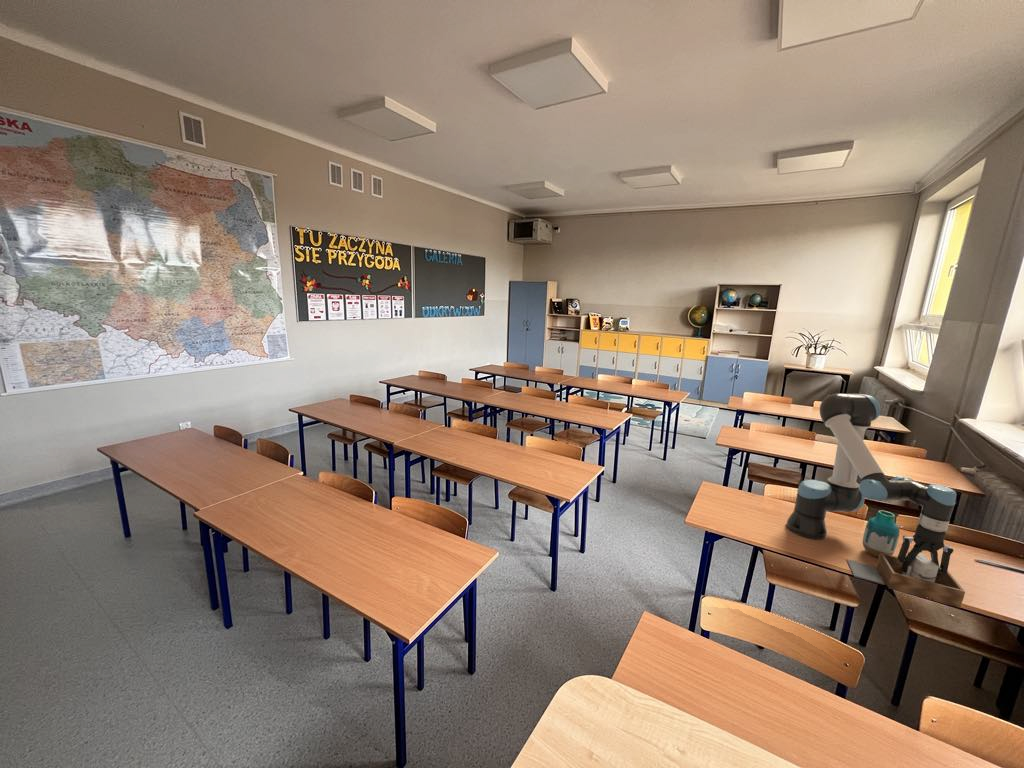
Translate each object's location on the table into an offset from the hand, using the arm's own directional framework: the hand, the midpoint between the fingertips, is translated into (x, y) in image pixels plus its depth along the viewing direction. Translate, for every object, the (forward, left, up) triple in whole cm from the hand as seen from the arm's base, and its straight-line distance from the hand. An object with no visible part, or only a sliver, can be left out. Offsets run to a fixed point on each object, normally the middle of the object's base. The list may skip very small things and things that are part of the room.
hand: (916, 582), depth 157 cm
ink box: (0, 0, -2) cm, 2 cm away
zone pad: (-15, +1, -1) cm, 15 cm away
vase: (-7, +19, -2) cm, 20 cm away
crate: (0, 0, -1) cm, 1 cm away
